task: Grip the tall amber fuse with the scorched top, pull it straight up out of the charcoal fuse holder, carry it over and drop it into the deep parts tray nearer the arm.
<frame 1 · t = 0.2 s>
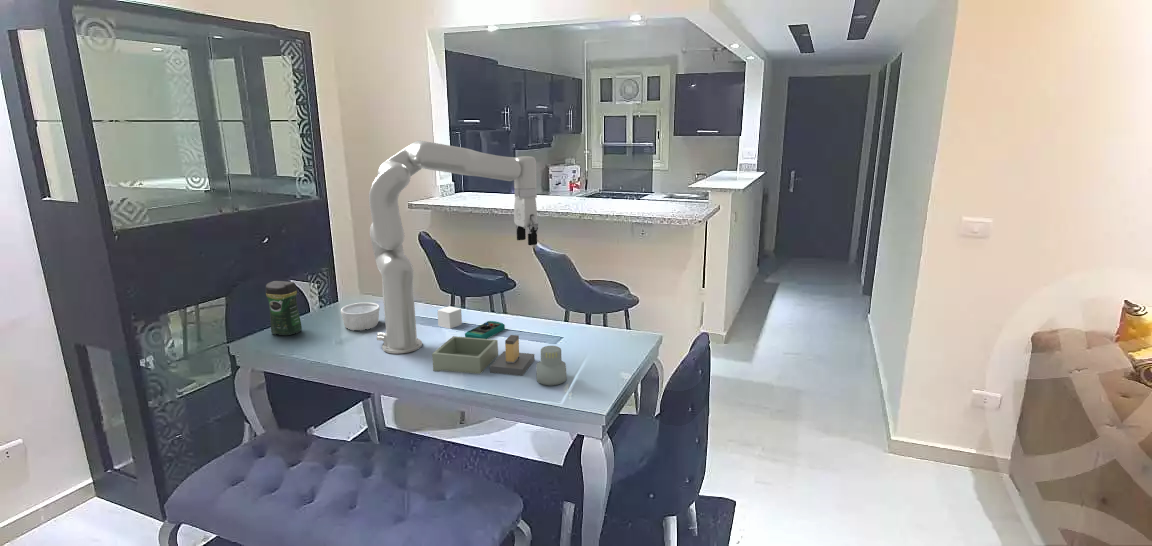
hand: (526, 242, 212), 31 cm above the table, tool pointing down, fingers open, 9 cm apart
air freshener: (551, 382, 174), on the table
coffee jar: (287, 332, 215), on the table
blown fuse: (512, 366, 184), resting on fuse holder
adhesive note: (450, 325, 222), on the table
ramekin: (361, 326, 221), on the table
fuse holder: (512, 367, 184), on the table
digital multimeter: (485, 335, 213), on the table
parts tray: (466, 363, 187), on the table
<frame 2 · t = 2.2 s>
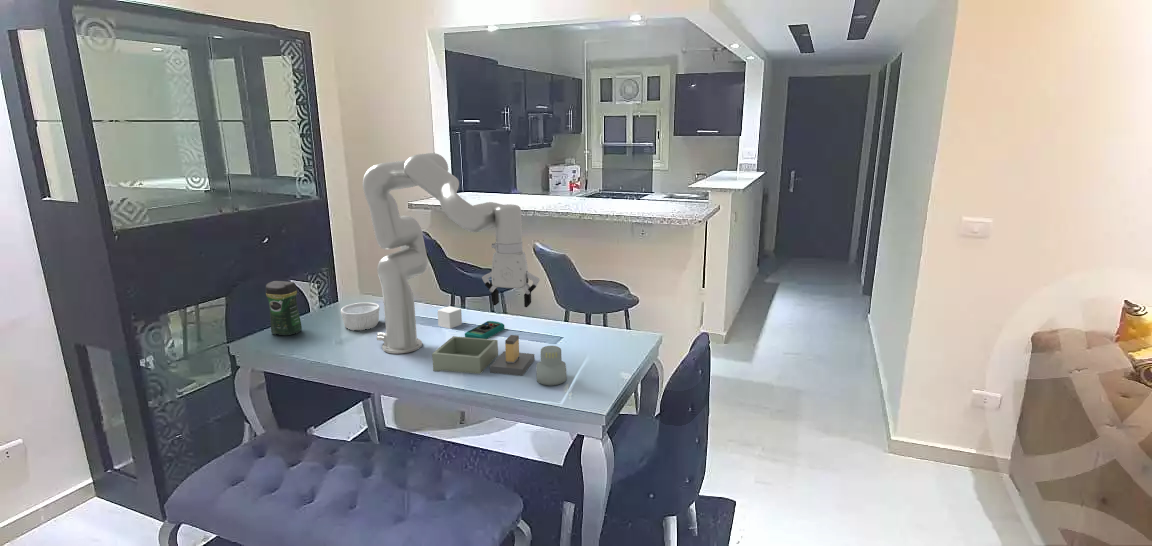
hand: (511, 305, 179), 20 cm above the table, tool pointing down, fingers open, 9 cm apart
nothing on the table moved.
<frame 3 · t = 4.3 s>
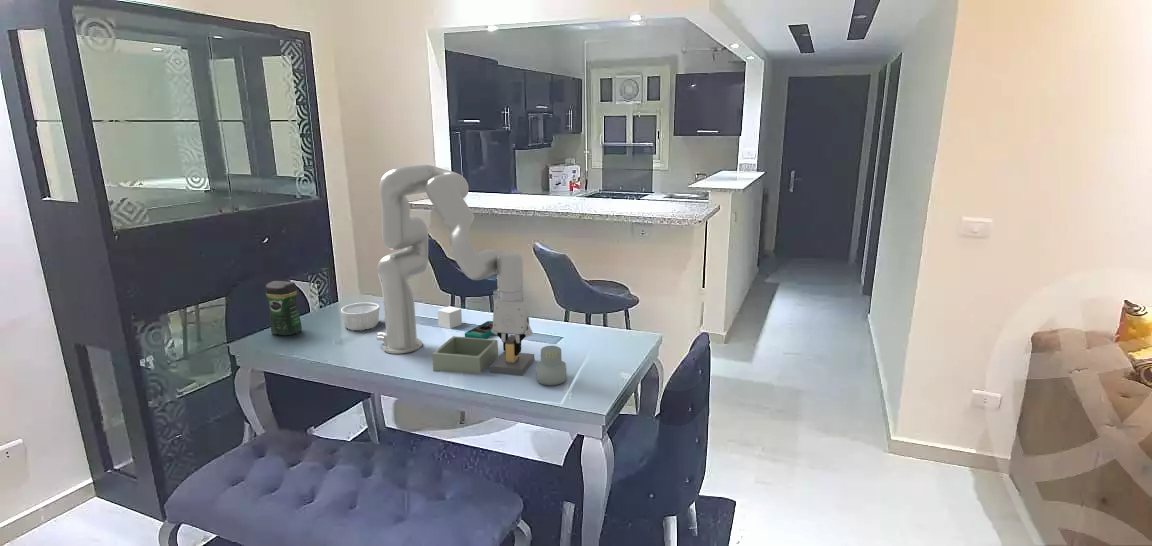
hand: (512, 353, 183), 5 cm above the table, tool pointing down, fingers closed on blown fuse, 2 cm apart
blown fuse: (512, 366, 184), point 1 cm above the table, touching fuse holder, gripper
everything else where it was.
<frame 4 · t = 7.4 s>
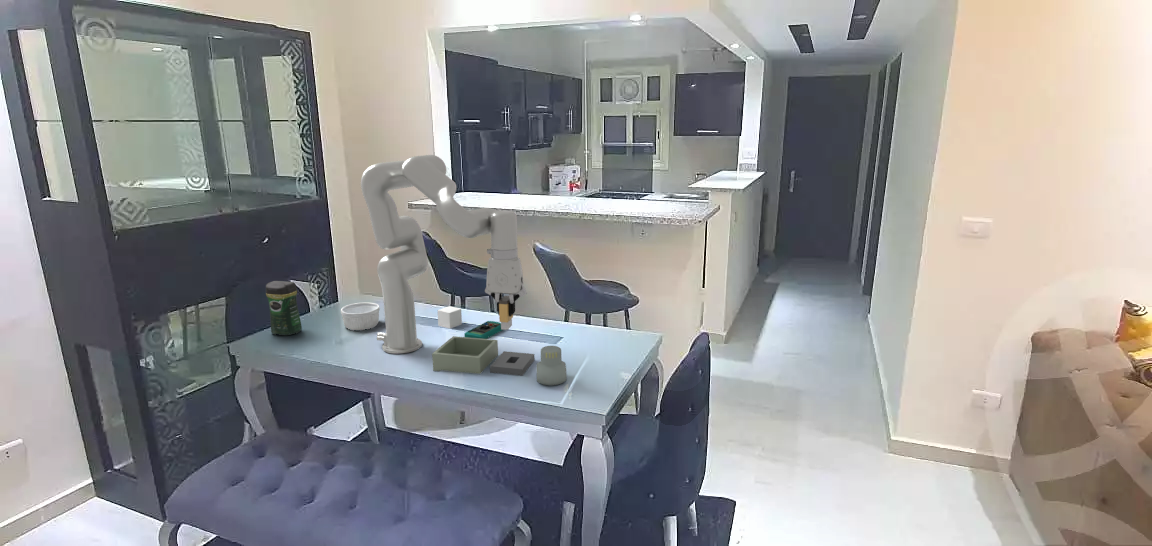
hand: (506, 314, 180), 17 cm above the table, tool pointing down, fingers closed on blown fuse, 2 cm apart
blown fuse: (506, 327, 181), point 13 cm above the table, touching gripper
everything else where it was.
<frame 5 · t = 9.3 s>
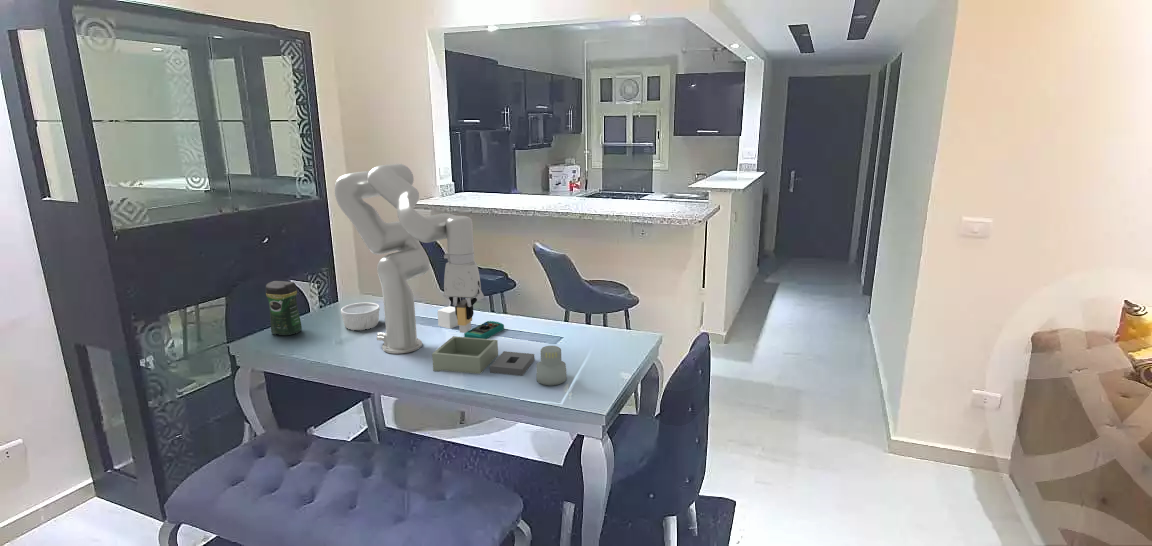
hand: (464, 317, 183), 15 cm above the table, tool pointing down, fingers closed on blown fuse, 2 cm apart
blown fuse: (465, 330, 184), point 11 cm above the table, touching gripper
everything else where it was.
when the fingers open (10 cm above the table, at t = 10.8 s): blown fuse drops 5 cm, resting on parts tray.
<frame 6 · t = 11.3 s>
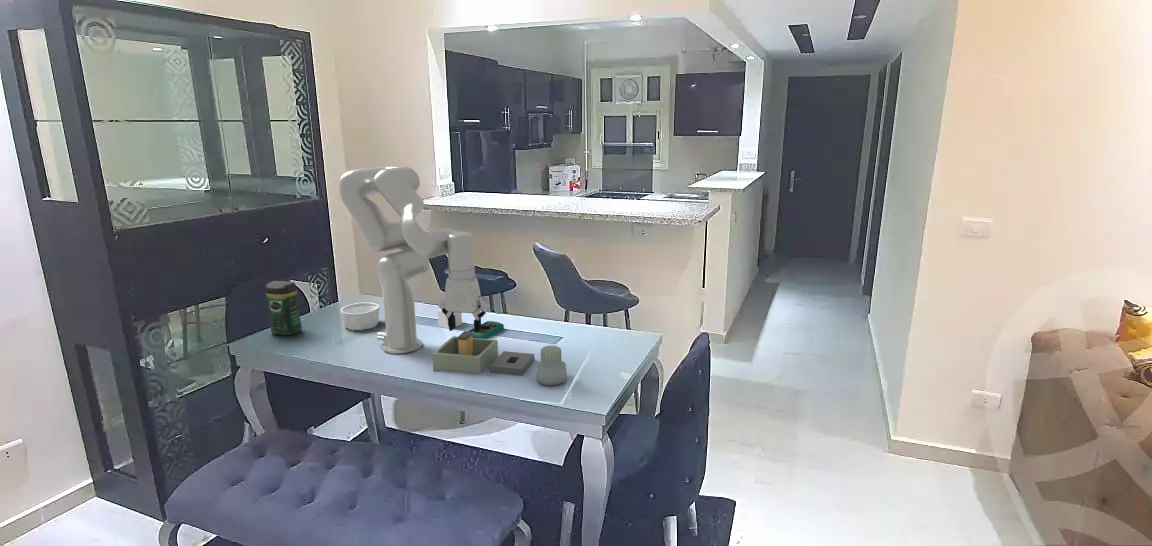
hand: (464, 329, 185), 11 cm above the table, tool pointing down, fingers open, 7 cm apart
blown fuse: (466, 361, 187), resting on parts tray
everything else where it was.
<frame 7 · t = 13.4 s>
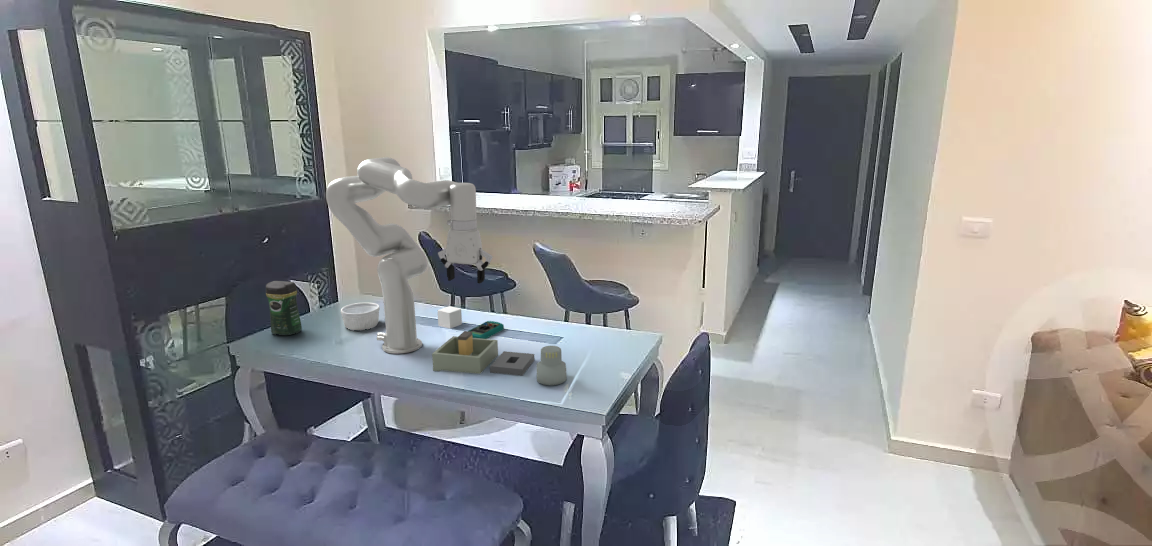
hand: (465, 280, 184), 25 cm above the table, tool pointing down, fingers open, 9 cm apart
nothing on the table moved.
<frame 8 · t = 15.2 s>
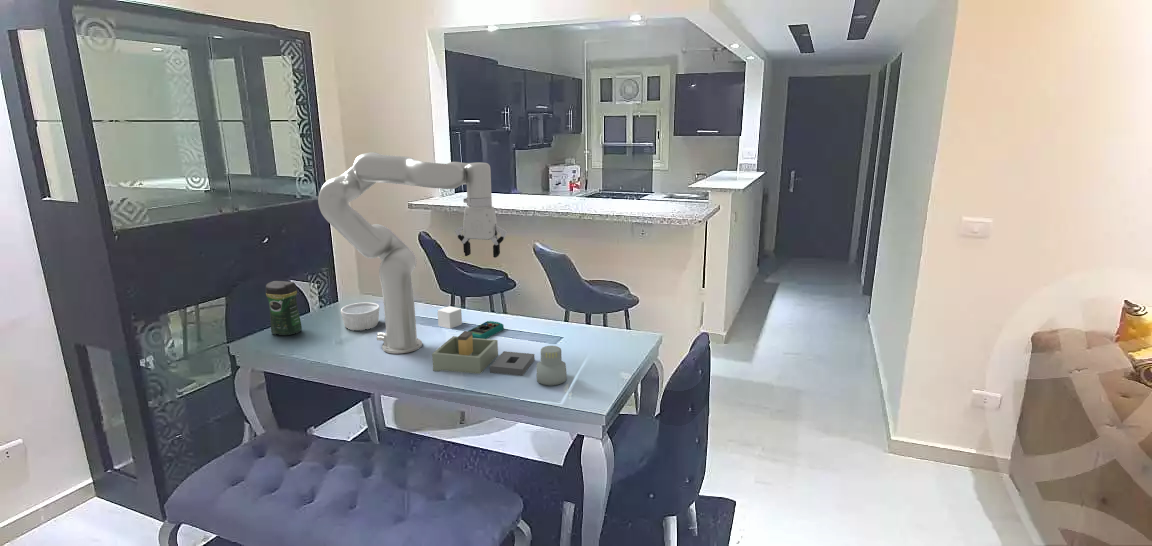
hand: (481, 255, 195), 30 cm above the table, tool pointing down, fingers open, 9 cm apart
nothing on the table moved.
at the end: blown fuse inside the target area on the parts tray (0.1 cm from its centre), point 0.5 cm above the parts tray's base; the gripper is holding nothing; blown fuse moved 15.0 cm from its start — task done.
